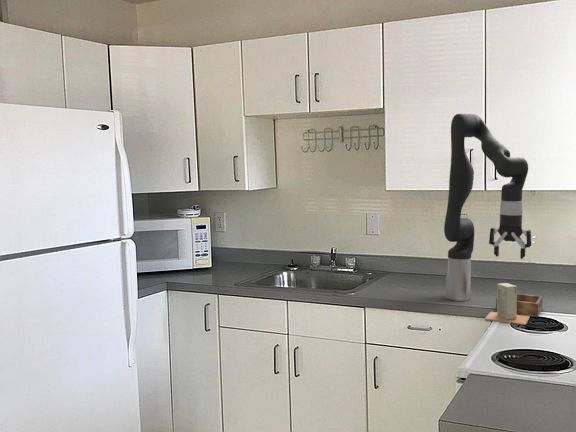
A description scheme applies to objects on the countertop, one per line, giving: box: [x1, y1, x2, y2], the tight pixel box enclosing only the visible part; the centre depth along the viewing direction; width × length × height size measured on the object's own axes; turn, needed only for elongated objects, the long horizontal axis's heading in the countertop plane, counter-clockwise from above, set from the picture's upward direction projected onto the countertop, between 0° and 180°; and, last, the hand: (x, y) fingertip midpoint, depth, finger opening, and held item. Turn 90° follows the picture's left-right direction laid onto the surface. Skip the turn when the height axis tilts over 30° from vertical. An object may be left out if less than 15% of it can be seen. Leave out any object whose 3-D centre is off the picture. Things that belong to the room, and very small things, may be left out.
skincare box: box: [496, 282, 518, 319], centre depth 230 cm, size 6×4×12 cm
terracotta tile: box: [484, 311, 531, 326], centre depth 230 cm, size 14×10×1 cm
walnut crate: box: [495, 293, 544, 318], centre depth 240 cm, size 15×12×5 cm
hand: (509, 257), depth 227 cm, fingers open, 8 cm apart
